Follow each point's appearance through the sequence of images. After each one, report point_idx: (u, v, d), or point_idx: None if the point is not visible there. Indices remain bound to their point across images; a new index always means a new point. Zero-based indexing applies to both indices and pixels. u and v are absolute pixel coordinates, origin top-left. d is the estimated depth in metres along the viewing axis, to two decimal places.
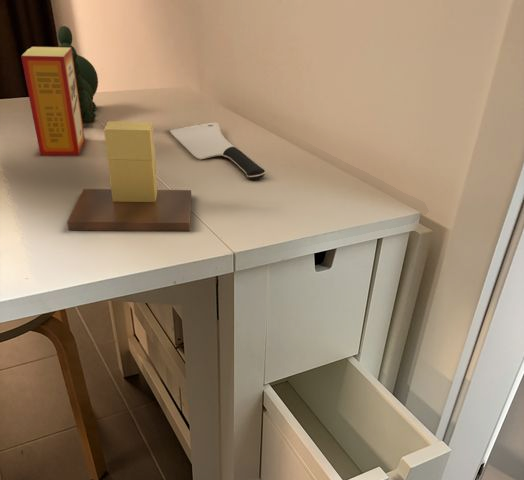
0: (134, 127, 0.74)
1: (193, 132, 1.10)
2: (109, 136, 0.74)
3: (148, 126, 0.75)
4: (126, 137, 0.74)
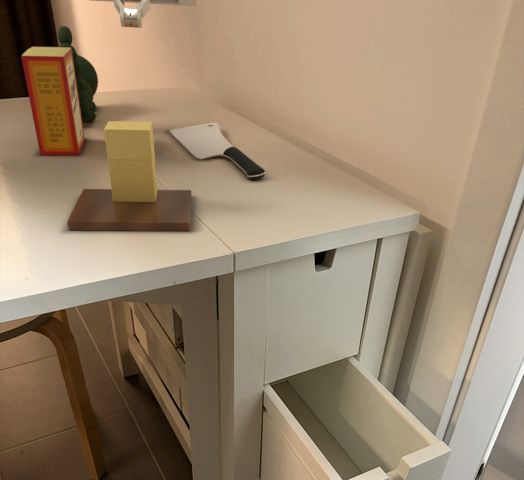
0: (134, 127, 0.74)
1: (193, 132, 1.10)
2: (109, 136, 0.74)
3: (148, 126, 0.75)
4: (126, 137, 0.74)
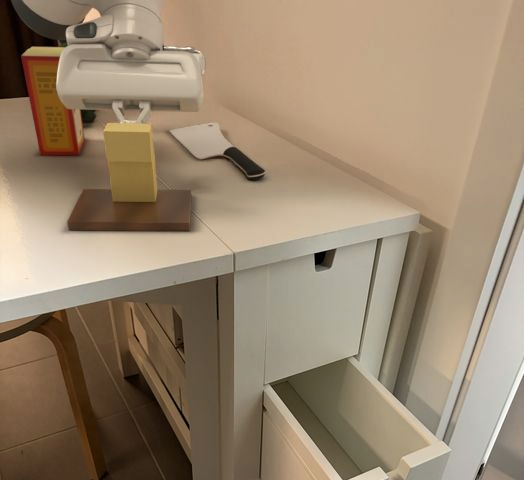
0: (133, 129, 0.73)
1: (193, 132, 1.10)
2: (108, 138, 0.73)
3: (148, 128, 0.74)
4: (125, 139, 0.73)
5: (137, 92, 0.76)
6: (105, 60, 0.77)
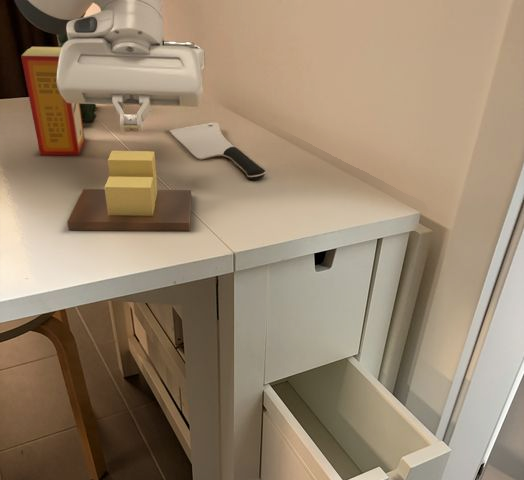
0: (136, 208, 0.75)
1: (193, 132, 1.10)
2: None
3: (149, 203, 0.75)
4: None
5: (137, 86, 0.77)
6: (105, 55, 0.77)
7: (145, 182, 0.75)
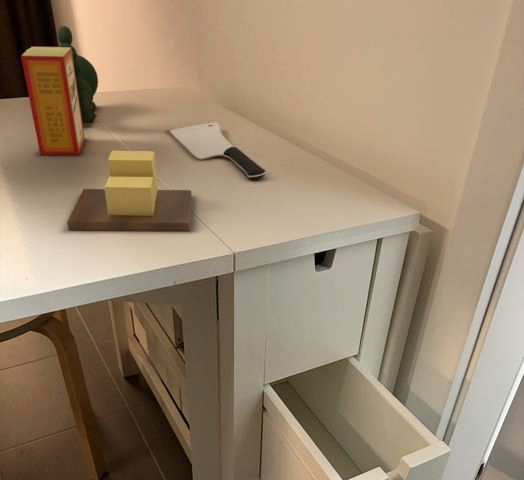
0: (136, 208, 0.75)
1: (193, 132, 1.10)
2: None
3: (149, 203, 0.75)
4: None
5: None
6: None
7: (145, 182, 0.75)
